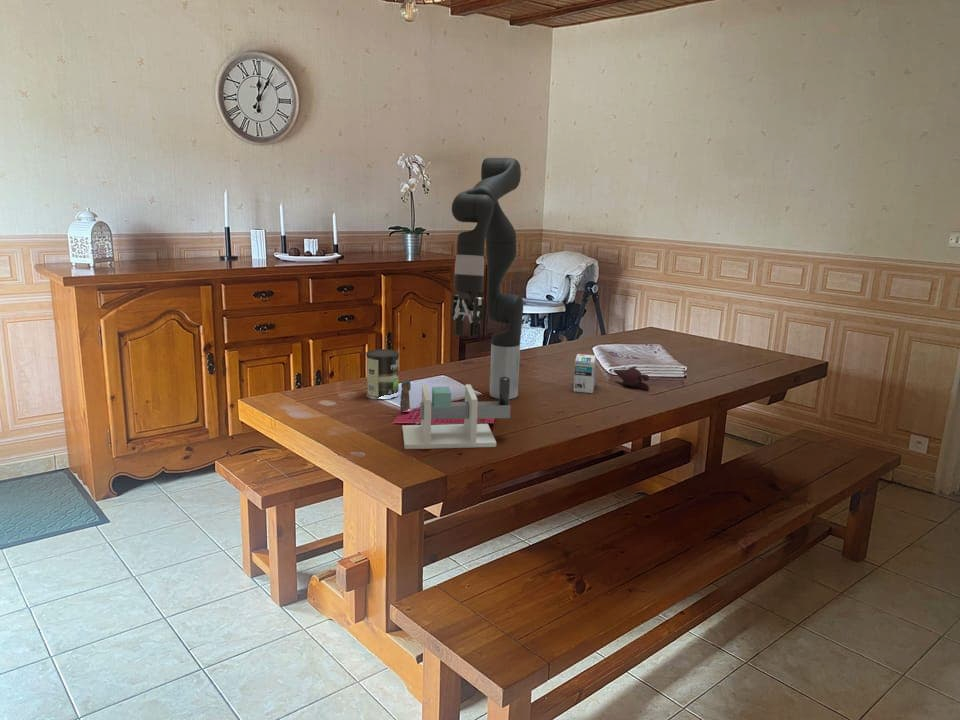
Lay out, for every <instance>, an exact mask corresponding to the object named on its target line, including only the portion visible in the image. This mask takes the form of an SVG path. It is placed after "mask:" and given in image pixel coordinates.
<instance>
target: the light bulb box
mask: <svg viewBox="0 0 960 720" xmlns="http://www.w3.org/2000/svg"><path fill="white" fill-rule="evenodd" d="M596 366H597V355H595V354H594V355H593V354H582V353H577V354H576V357H575V360H574V375H573V376H574V377H573V389H572V390H573V392H575V393H577V392H578V393H589V394H593V392H594V388H595V378H596Z"/></svg>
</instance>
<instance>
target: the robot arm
mask: <svg viewBox="0 0 960 720" xmlns="http://www.w3.org/2000/svg"><path fill="white" fill-rule="evenodd" d="M480 168H481V171H480V172H481V173H480V175H481V176H480V177H481V180H480V181H479V182H477V183H476V184H475V186H473V187H472V188H470V189H466V190H464V191H462V192H459V193H458V194H457V195H455V198H453V201H452V203H451V213H452V217H453V218H454V219H455V220H456V221H458V222H459V223H460V222H461V223H472V224H473V223H475V224H476V225H475V226H474V229H471V230H468V231H463V232H460V233H458V235H457V243H456V244H457V245H456V257H455V262H454V276H453V279H454V280H453V291H454V292H458V294H453V295H451V296H452V297H451V307H450V308H451V309H450V317H451V318H453V320H454V328H453V329H454V332H453V333H454V335H455V336H456V335H457V336H462V335H463V333H464V319H465V317H466V316H467V317H468V321H469V324H468V338H470V339H478V337H479V336H478V335H479V324H480V323H481V322H484V321H485V320H484V319H485V318H484V316H485V297H482V296H481V297H479V295H478V294H479V293H480V294H481V293H483V291H484V279H485V277H484V276H485V275H484V274H485V251H486V263H487V301H486V304H487V306H486V307H487V316H488V319H489V320H490V321H491V322H493V323H502V324H508V328H507V329H506V330H502V331H498V332H495V333H492V336H491V339H490V340H491V342H490V343H491V345H490V371H489V375H490V376H489V396H490V397H492V398H494V399H498V400H499V382H500V377H508V378H510V392H509V400H511V399H515V398H517V397H519V396H518V395H519V380H520V379H519V377H520V375H519V374H520V373H519V372H520V355H521V354H520V353H521V337H522V323H523V317H524V299H523V297H522V296H521V295H519V294H512V293H502V292H501V285H502V281H503V279H504V277H505V275H506V274H507V272H508V270H509V269H510V267H511V265H512V264H513V262H514V260H515V259H516V256H517V233H516V230H515V228H514V226H513V224H512V223H511V221H510V219H509V218H508V216H506V214H505V213H504V210H503V209H502V206H501V205H500V203H499V200H500V199H501V198H503V197H504V196H506V195H508V194H509V193H510V192H512V191H515V190H516V189H517V188H518V186H520V182H521V178H522V177H521V176H522V175H521V174H522V173H521V171H522V168H521V164H520V162H519V161H518V160H517V159H516V158H513V157H486V158H484V159H483V161H482V163H481V167H480Z"/></svg>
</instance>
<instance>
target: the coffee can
mask: <svg viewBox="0 0 960 720" xmlns="http://www.w3.org/2000/svg"><path fill="white" fill-rule="evenodd" d="M365 355H366V397H367V398H369V399H372V400H376V399H378V398H379V397H381V396H384V395H391V394H394V393H397V392H398V391H400V390H399V387H400V386H399V381H400V379H399V378H400V377H399V370H400V369H399V364H400V363H399V361H400V360H399V358H400V357H399V355H400V352H399V351H397V350H395V349H394V350H393V349H388V348H387V349H386V348H377V349H372V350H368V351H366V352H365Z"/></svg>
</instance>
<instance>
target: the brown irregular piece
mask: <svg viewBox="0 0 960 720" xmlns="http://www.w3.org/2000/svg"><path fill="white" fill-rule="evenodd" d="M613 372H614V373H615V374H616V376H618V377H619V378H620V379H621V380H622V382H623V383H622V384H624V386H625V387H631V388H635V387H638V386H639V388H641V389H643V390H645V391H649V390H650V386H649V385H648V384H647V383H644V382H648V381H649V379H650V376H649V375H648V374H645V373H642V372H641V371H640V370H638V369H637V368H636V367H629V368H626V369H623V368H621V369H613Z"/></svg>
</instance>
